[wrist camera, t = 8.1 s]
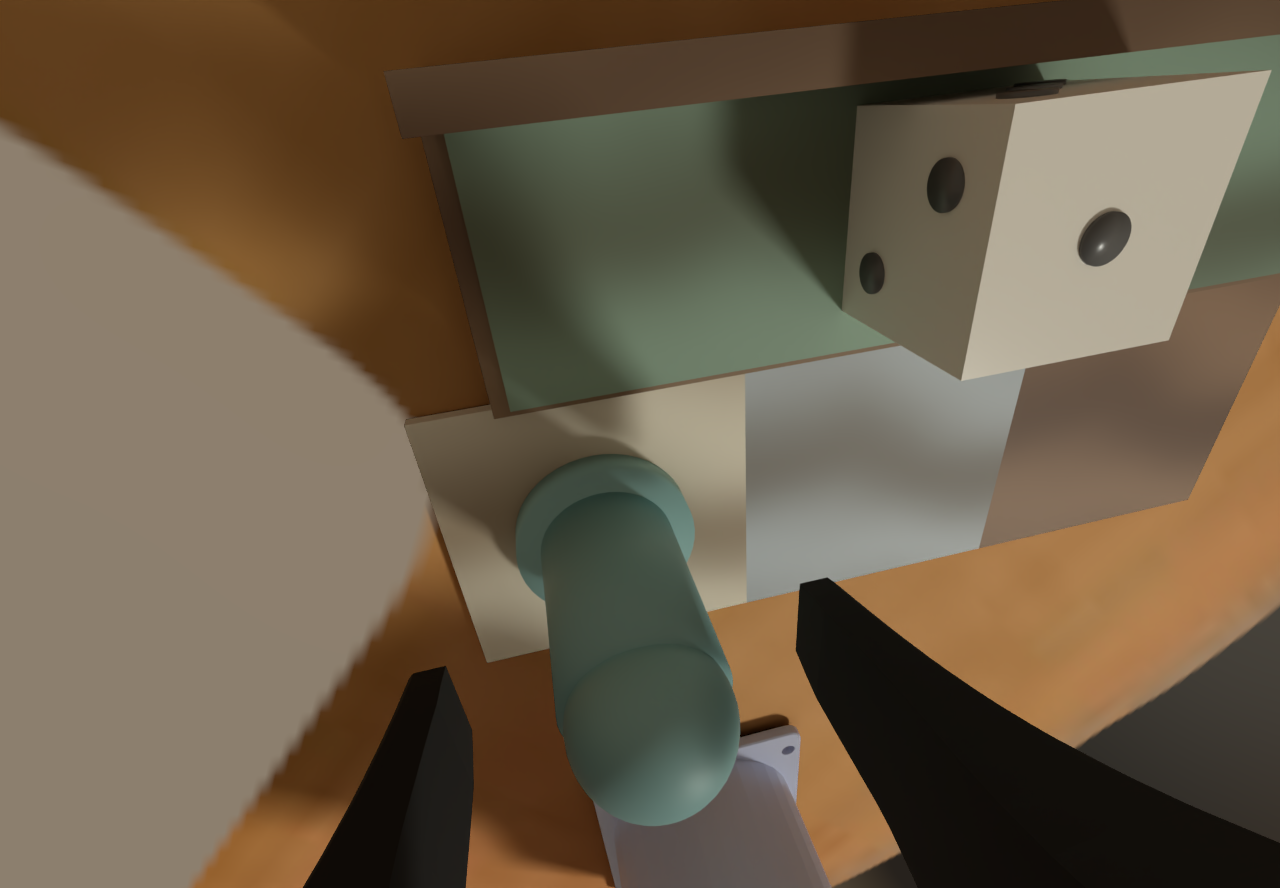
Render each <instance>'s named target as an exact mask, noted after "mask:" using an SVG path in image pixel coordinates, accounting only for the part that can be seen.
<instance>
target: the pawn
mask: <svg viewBox="0 0 1280 888" xmlns="http://www.w3.org/2000/svg"><path fill="white" fill-rule="evenodd" d="M515 535H516V559H517V564H518V568H519V571H520V574H521V576H522V578H523V580H524V581H525V583H526V584H527V586H528V587H529V588H530V589H531V591H533V592H534V593H535V594H536V595H537V596H538V597H539V598H541V599H542V600H544V601H545V605H546V616H547V626H548V637H549V648H550V658H551V669H552V680H553V690H554V701H555V712H556V720H557V726H558V728H559V731H560V733H561V734H562V736H563V737H564V742H565V748H566V754H567V757H568V760H569V763H570V766H571V768H572V771H573V773H574V775H575V777H576V779H577V781H578V782H579V784H580V785H581V787H582V788H583V790H584V791H585V792H586V794H587V795H588V796H589V797H590V798H591V799H592V800H593V801H594V802H595V803H596V804H597V805H598V806H599V807H600V808H602V809H603V810H605V811H606V812H608V813H609V814H611V815H612V816H614V817H616V818H618V819H621V820H623V821H625V822H628V823H632V824H637V825H643V826H662V825H668V824H672V823H676V822H679V821H682V820H684V819H686V818H689V817H691V816H693V815H694V814H696V813H698V812H699V811H701V810H702V809H703V808H704V807H706V806H707V805H708V804H709V803H710V802H711V801H712V800H713V799H714V798H715V797H716V796H717V794H718V793H719V792H720V790H721V789H722V787H723V786H724V784H725V783H726V781H727V780H728V777H729V775H730V773H731V771H732V769H733V766H734V763H735V760H736V756H737V753H738V748H739V740H740V717H739V710H738V705H737V701H736V698H735V695H734V692H733V689H732V685H733V679H732V673H731V670H730V667H729V665H728V662H727V660H726V657H725V655H724V652H723V650H722V648H721V645H720V643H719V640H718V638H717V635H716V633H715V631H714V628H713V626H712V623H711V621H710V619H709V616H708V614H707V611H706V609H705V606H704V604H703V602H702V599H701V597H700V594H699V592H698V589H697V587H696V585H695V582H694V580H693V577H692V575H691V573H690V570H689V568H688V565H687V561H688V559H689V557H690V555H691V552H692V549H693V545H694V539H695V527H694V520H693V517H692V514H691V511H690V509H689V507H688V505H687V503H686V501H685V498H684V496H683V494H682V492H681V490H680V488H679V486H678V485H677V484H676V482H675V481H674V480H673V478H672V477H671V476H670V475H669V474H668V473H666V472H665V471H664V470H663V469H661V468H660V467H658V466H657V465H655V464H653V463H651V462H649V461H647V460H644V459H641V458H638V457H634V456H629V455H622V454H601V455H593V456H588V457H584V458H580V459H577V460H575V461H572V462H569V463H567V464H565V465H563V466H561V467H559V468H557V469H556V470H554V471H553V472H551V473H550V474H548V475H547V476H546V477H544V478H543V479H542V480H541V481H540V482H539V483H538V484H537V485H536V486H535V487H534V488H533V489H532V490H531V491H530V493H529V494H528V496H527V497H526V499H525V500H524V502H523V504H522V506H521V508H520V511H519V514H518V517H517V521H516V528H515Z"/></svg>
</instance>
